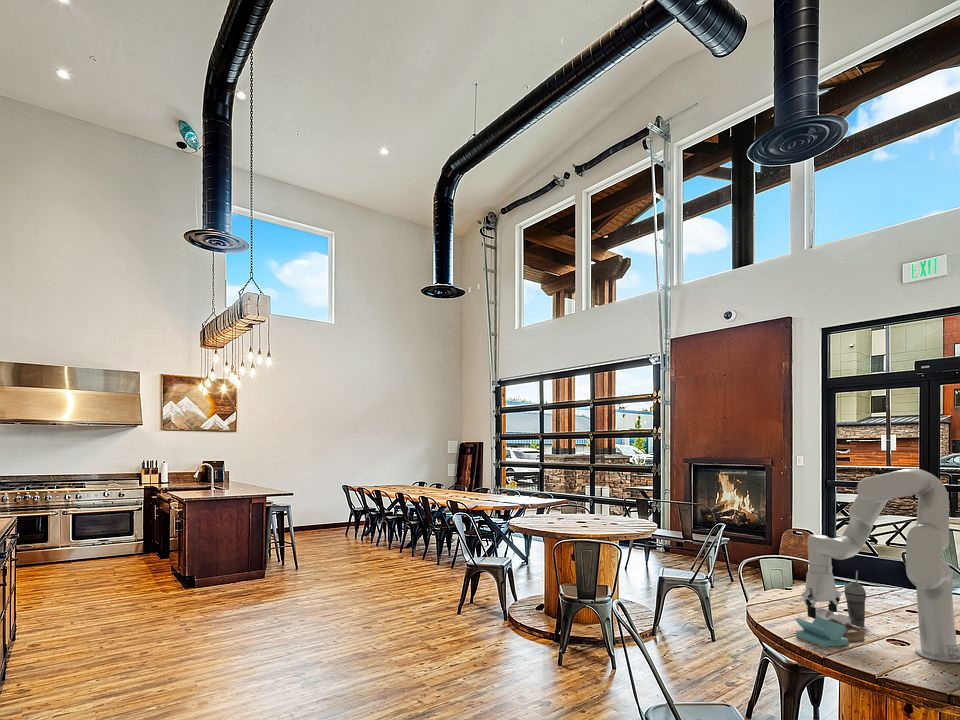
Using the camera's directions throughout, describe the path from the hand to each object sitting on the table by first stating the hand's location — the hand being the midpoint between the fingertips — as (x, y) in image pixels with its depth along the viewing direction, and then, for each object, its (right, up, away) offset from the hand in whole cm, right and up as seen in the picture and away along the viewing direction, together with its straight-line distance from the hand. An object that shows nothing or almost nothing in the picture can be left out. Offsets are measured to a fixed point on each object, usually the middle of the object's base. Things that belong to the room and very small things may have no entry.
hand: (822, 616), depth 221 cm
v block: (-8, -3, -13) cm, 15 cm away
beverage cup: (+17, -6, +6) cm, 19 cm away
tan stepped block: (+2, -4, -8) cm, 9 cm away
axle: (+1, -1, -3) cm, 4 cm away
